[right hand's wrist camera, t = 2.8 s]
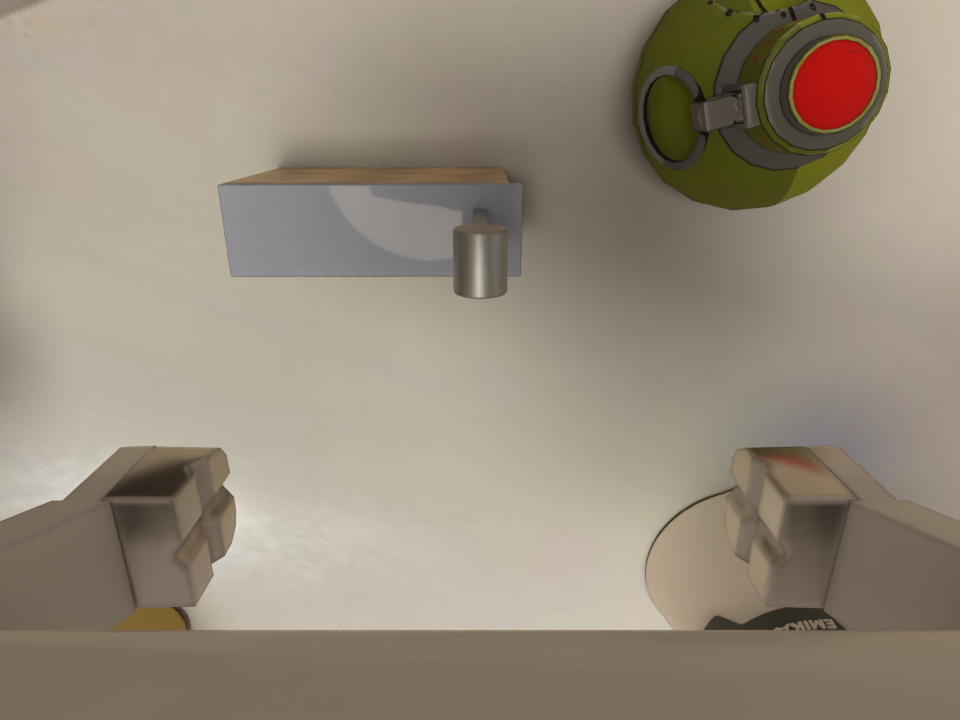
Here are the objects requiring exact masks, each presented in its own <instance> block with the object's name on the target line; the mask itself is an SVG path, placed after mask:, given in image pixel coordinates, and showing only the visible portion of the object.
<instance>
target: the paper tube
mask: <svg viewBox="0 0 960 720" xmlns="http://www.w3.org/2000/svg"><path fill="white" fill-rule="evenodd" d="M112 630H186V626H185V623H184V621H183V619H182V617H181V616H180V614H179V613H178V612H177V611H176V610H175V609H173V608H172V607H162V608H136V612H134V613H133V614H132V615H130V616H129V617H128V618H126V619H125V620H124V621H122V622H121V623H120V624H118V625H117V626H116V627H114V628H113V629H112Z"/></svg>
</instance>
